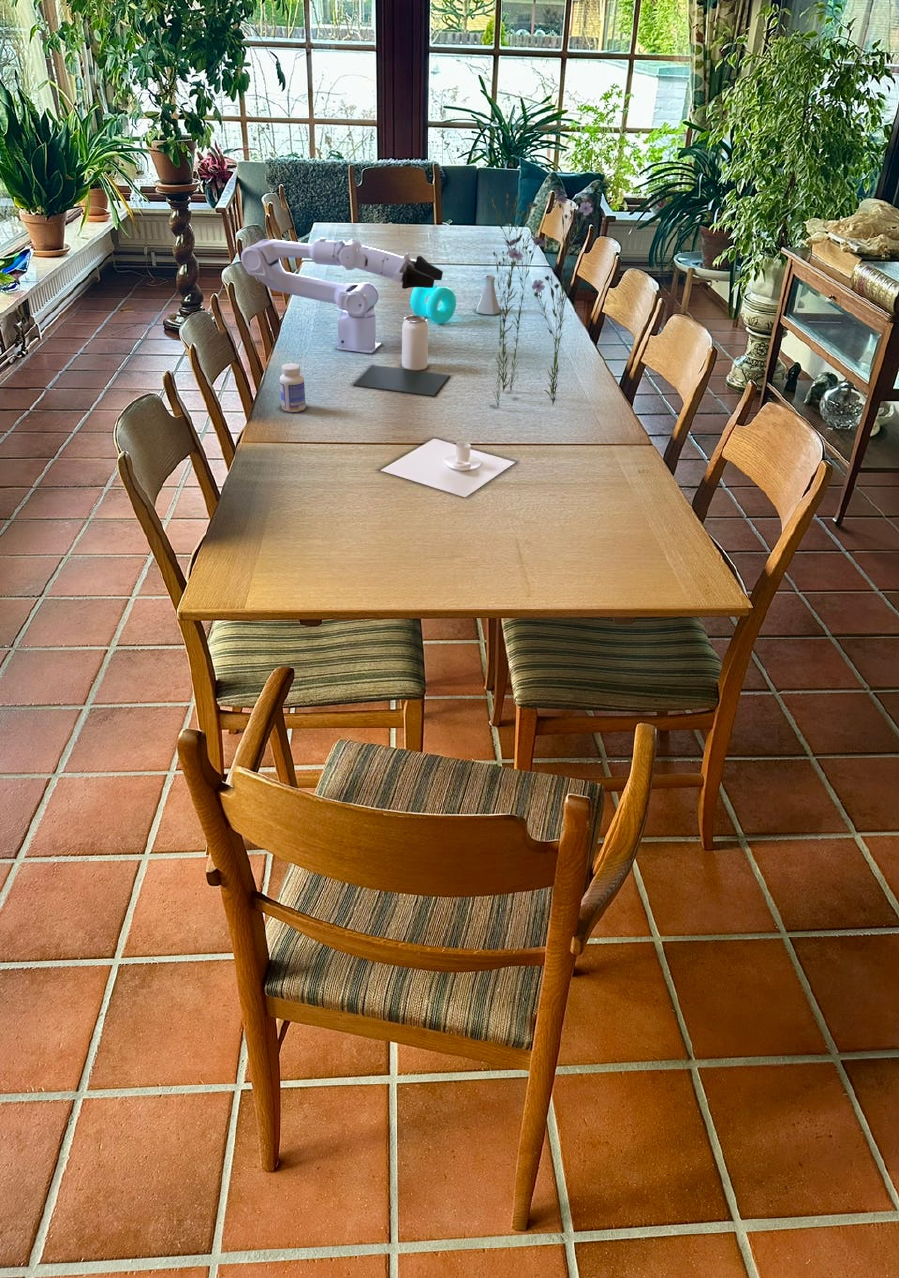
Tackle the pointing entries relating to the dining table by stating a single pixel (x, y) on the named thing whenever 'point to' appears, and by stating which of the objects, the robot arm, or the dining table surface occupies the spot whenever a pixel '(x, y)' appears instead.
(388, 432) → the dining table surface
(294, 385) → the pill bottle
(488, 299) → the flask
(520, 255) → the wildflower
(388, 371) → the mat
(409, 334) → the can
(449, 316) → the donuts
